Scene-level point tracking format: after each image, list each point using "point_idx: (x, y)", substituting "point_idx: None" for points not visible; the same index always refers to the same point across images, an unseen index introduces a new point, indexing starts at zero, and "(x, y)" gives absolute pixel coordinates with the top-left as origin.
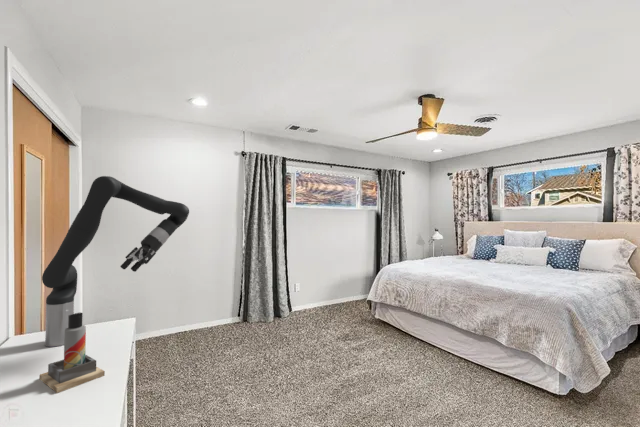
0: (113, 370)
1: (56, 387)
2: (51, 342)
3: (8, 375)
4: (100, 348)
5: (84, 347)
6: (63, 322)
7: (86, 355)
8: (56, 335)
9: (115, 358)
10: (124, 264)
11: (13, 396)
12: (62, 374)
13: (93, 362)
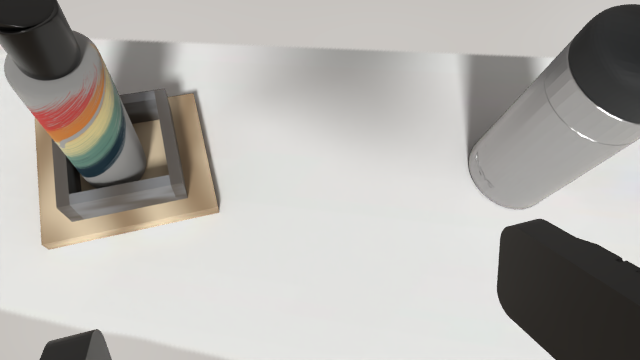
0: (69, 283)
1: None
2: (480, 139)
3: (289, 51)
4: (354, 279)
5: (60, 144)
6: (517, 132)
7: (149, 187)
8: (488, 138)
9: (192, 310)
10: (555, 279)
11: (123, 52)
12: None
13: (56, 199)
